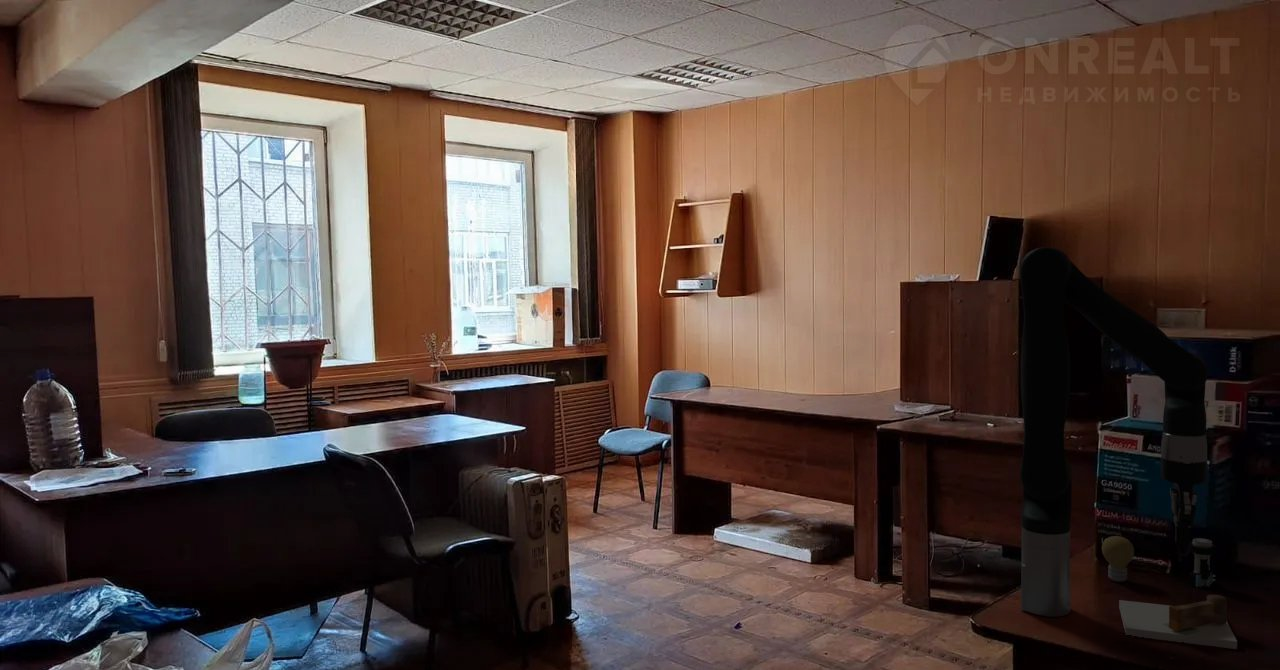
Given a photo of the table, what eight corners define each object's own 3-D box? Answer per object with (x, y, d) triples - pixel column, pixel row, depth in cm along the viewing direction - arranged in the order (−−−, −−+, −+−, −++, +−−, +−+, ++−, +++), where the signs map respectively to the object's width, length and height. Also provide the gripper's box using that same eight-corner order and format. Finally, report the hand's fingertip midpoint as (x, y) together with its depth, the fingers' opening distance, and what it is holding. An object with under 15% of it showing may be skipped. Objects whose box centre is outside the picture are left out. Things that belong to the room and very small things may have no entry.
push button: (1203, 578, 197) (1203, 534, 196) (1226, 586, 192) (1227, 541, 191) (1181, 582, 194) (1182, 538, 194) (1204, 590, 189) (1205, 545, 189)
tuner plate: (1125, 635, 169) (1125, 627, 168) (1119, 607, 182) (1119, 599, 182) (1237, 649, 161) (1237, 640, 161) (1221, 618, 175) (1221, 610, 175)
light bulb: (1095, 576, 200) (1095, 533, 199) (1121, 574, 201) (1121, 531, 200) (1113, 586, 194) (1113, 542, 193) (1140, 584, 194) (1140, 540, 194)
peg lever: (1215, 617, 171) (1215, 593, 171) (1230, 623, 168) (1230, 599, 168) (1165, 626, 168) (1166, 602, 167) (1180, 632, 164) (1180, 608, 164)
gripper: (1156, 448, 175) (1155, 532, 177) (1165, 462, 163) (1164, 553, 165) (1200, 450, 172) (1199, 536, 173) (1213, 465, 160) (1211, 557, 161)
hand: (1182, 544), depth 169 cm, fingers closed
